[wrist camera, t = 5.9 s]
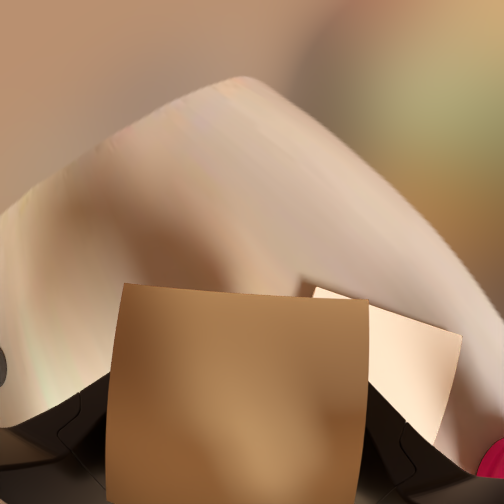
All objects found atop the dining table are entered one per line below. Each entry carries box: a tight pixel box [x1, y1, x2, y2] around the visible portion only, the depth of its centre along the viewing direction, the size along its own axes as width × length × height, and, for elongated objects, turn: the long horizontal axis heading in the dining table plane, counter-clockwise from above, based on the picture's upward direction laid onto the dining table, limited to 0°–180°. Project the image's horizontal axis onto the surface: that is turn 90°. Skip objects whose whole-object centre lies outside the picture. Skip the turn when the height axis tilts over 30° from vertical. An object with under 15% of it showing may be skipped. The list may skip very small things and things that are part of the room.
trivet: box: [311, 287, 463, 446], centre depth 19 cm, size 14×14×2 cm
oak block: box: [105, 283, 369, 504], centre depth 10 cm, size 5×5×11 cm
